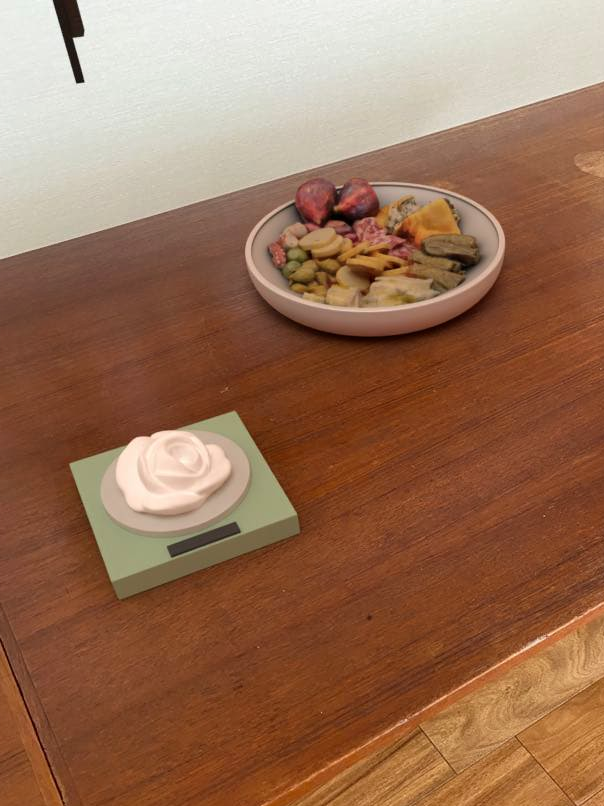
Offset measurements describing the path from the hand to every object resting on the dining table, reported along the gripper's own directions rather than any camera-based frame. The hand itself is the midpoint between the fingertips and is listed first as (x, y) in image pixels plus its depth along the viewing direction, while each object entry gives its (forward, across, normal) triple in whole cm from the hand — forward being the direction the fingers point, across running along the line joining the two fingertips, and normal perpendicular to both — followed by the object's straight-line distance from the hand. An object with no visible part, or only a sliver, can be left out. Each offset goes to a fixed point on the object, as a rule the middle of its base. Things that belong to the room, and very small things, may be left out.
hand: (0, 89), depth 76 cm
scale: (+27, +6, -29) cm, 40 cm away
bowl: (+27, +34, +2) cm, 43 cm away
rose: (+24, +6, -29) cm, 38 cm away
